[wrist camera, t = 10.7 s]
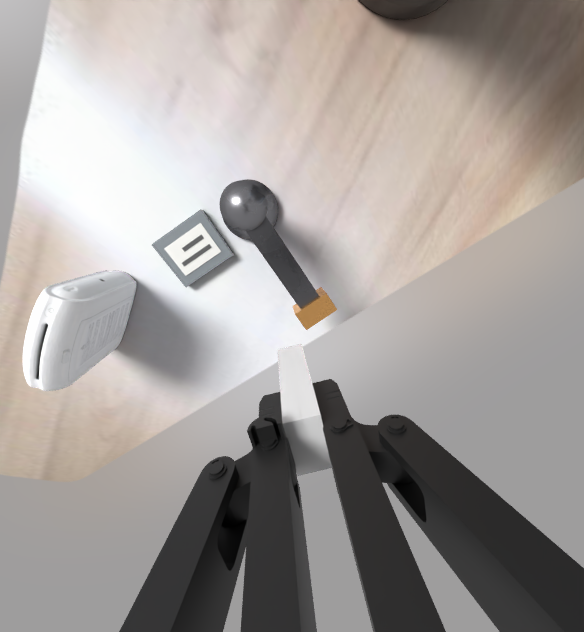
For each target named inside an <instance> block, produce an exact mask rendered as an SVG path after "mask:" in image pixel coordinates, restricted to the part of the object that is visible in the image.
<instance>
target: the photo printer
mask: <svg viewBox="0 0 584 632" xmlns="http://www.w3.org/2000/svg"><path fill="white" fill-rule="evenodd" d="M135 291H136V281H134V279H133V278H132V277H131V276H130V275H129V274H127V273H125V272H123V271H119V270H114V271H107V270H106V271H101V272H97V273H93V274H89V275H86V276H82V277H78V278H75V279H71V280H67V281H64V282H61V283H57V284H53V285H50V286H47V287H46V288H45V289H44V290H43V291H42V293H41V294H40V296H39V298H38V299H37V301H36V304H35V306H34V308H33V311H32V314H31V317H30V320H29V324H28V327H27V332H26V336H25V342H24V349H23V371H24V376H25V379H26V381H27V383H28V385H29V386H30V387H33V388H39V389H41V390H43V391H54V390H59V389H63V388H65V387H68V386H70V385H71V384H73V383H74V382H75V381H76V380H77V379H79V378H80V377H81V376H82V375H84V374H85V373H86V372H87V371H89V370H90V369H91V368H92V367H93V366H95V365H96V364H97V363H98V362H100V361H101V360H102V359H103V358H105V357H106V356H107V355H108V354H110V353H111V352H112V351H113V350H115V349H116V348H117V347H118V345H119V344H120V342H121V340H122V338H123V335H124V332H125V329H126V325H127V322H128V318H129V315H130V311H131V308H132V304H133V301H134V296H135Z"/></svg>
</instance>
